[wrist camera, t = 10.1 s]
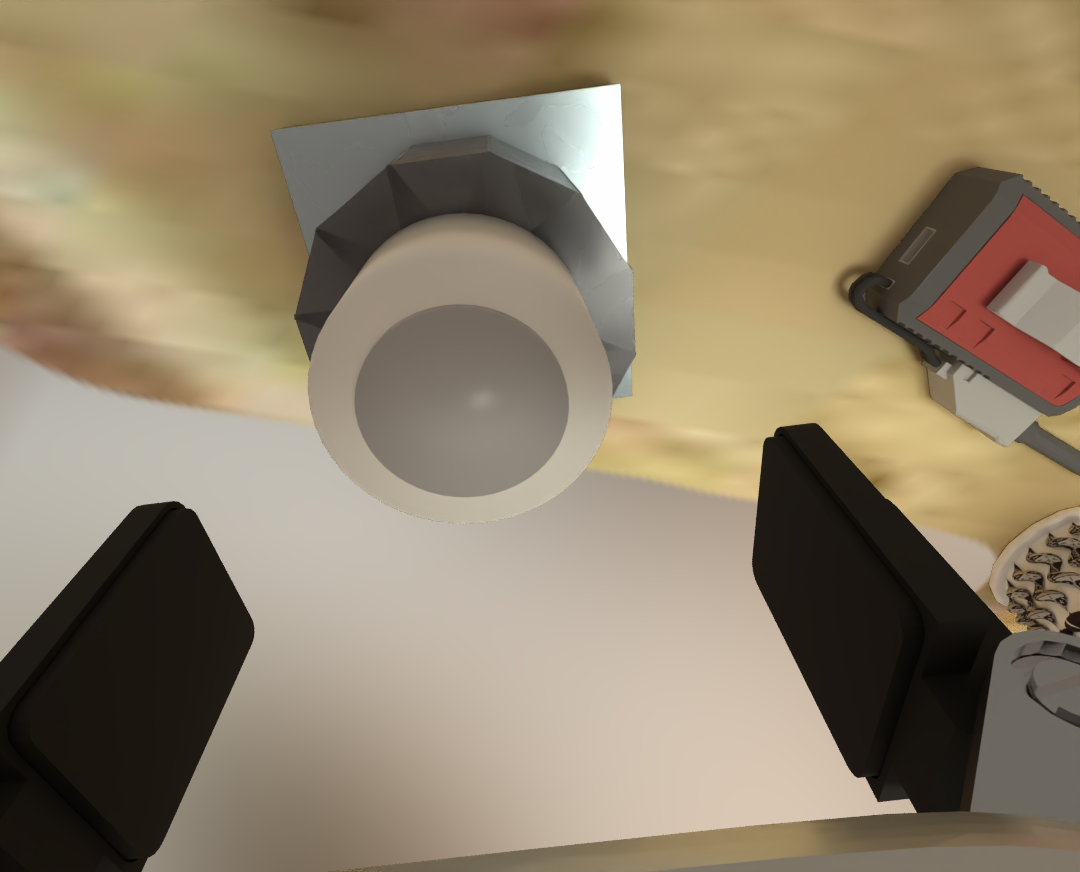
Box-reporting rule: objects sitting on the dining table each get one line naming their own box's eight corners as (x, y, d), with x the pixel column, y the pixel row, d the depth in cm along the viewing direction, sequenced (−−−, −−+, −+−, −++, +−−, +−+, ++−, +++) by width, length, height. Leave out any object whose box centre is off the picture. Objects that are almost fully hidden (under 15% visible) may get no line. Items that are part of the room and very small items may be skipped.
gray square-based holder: (612, 84, 22) (665, 84, 15) (625, 381, 28) (666, 471, 21) (283, 128, 21) (195, 146, 15) (369, 416, 28) (334, 517, 21)
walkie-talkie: (800, 325, 27) (1066, 479, 33) (851, 364, 24) (1140, 530, 30) (945, 137, 24) (1215, 348, 30) (1032, 147, 20) (1321, 387, 26)
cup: (564, 181, 19) (606, 234, 12) (581, 384, 23) (621, 510, 16) (339, 211, 19) (256, 281, 12) (393, 409, 23) (353, 547, 16)
